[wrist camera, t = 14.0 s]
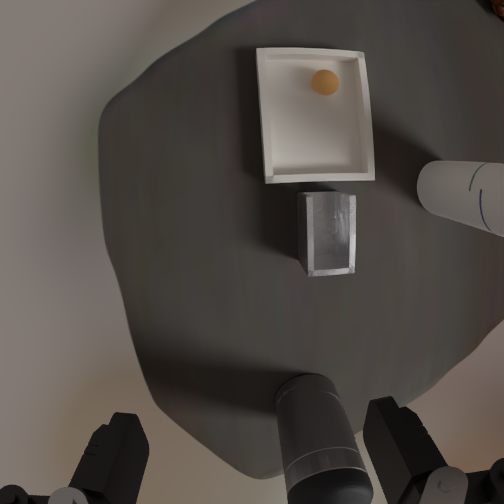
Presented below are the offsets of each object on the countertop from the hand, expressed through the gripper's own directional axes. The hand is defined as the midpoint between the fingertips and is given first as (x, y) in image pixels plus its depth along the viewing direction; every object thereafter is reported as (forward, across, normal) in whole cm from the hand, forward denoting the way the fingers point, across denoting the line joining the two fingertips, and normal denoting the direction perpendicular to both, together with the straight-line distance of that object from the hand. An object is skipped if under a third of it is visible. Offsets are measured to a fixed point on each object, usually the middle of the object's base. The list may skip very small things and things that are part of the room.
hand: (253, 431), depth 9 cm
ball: (+26, -10, -18) cm, 33 cm away
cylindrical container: (+28, -26, -6) cm, 39 cm away
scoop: (+28, -8, -1) cm, 30 cm away
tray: (+28, -8, -14) cm, 33 cm away
